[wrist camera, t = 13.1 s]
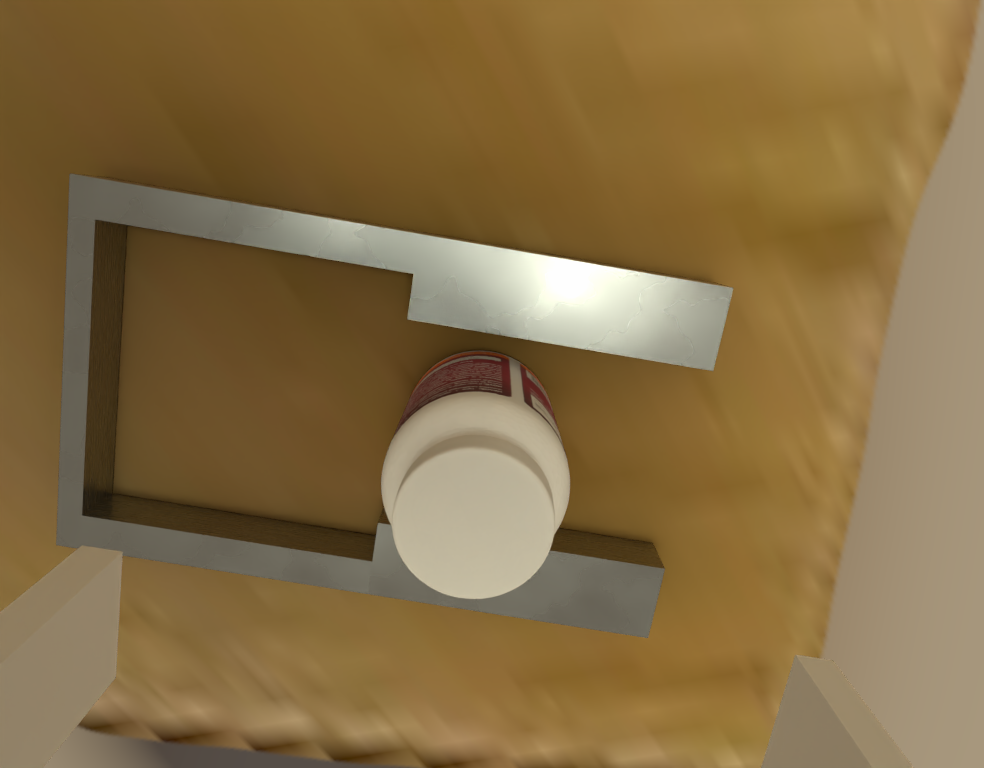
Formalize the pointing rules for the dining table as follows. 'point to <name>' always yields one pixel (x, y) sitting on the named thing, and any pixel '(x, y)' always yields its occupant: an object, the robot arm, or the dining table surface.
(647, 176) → the dining table surface
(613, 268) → the grey u-shaped frame
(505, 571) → the pill bottle
